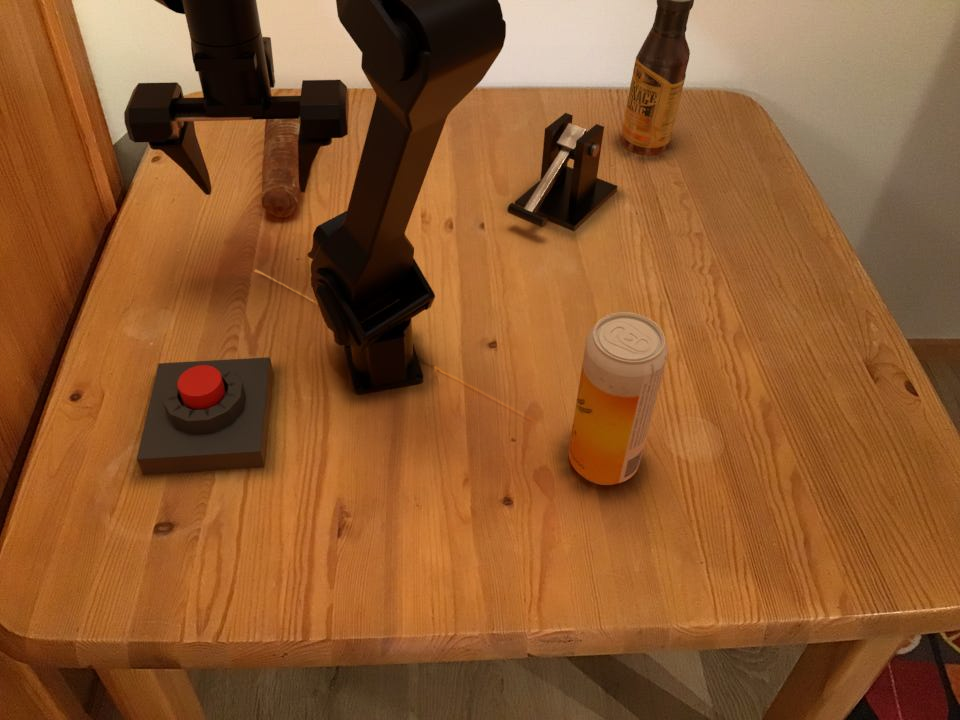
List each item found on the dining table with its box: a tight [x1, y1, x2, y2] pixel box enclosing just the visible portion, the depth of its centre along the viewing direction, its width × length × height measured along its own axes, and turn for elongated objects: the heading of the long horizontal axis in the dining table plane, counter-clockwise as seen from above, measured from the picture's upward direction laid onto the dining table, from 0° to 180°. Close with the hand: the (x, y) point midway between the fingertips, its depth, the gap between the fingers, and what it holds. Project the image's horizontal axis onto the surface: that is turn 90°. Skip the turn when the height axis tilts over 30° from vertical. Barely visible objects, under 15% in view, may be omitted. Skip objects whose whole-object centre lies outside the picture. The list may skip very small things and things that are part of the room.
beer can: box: [568, 311, 669, 486], centre depth 68 cm, size 6×6×15 cm
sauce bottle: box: [621, 0, 695, 156], centre depth 102 cm, size 7×6×20 cm
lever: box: [506, 123, 588, 228], centre depth 93 cm, size 12×4×2 cm, turn 145°
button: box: [177, 365, 225, 410], centre depth 72 cm, size 4×4×2 cm
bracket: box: [514, 112, 618, 232], centre depth 96 cm, size 10×8×10 cm
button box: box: [136, 356, 274, 476], centre depth 74 cm, size 11×10×4 cm
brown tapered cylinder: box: [261, 119, 302, 218], centre depth 100 cm, size 6×19×6 cm, turn 2°
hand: (256, 191), depth 81 cm, fingers open, 8 cm apart
